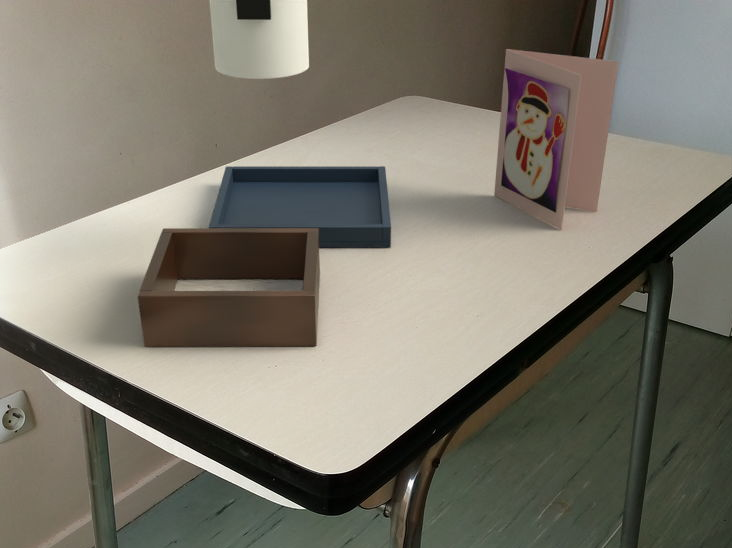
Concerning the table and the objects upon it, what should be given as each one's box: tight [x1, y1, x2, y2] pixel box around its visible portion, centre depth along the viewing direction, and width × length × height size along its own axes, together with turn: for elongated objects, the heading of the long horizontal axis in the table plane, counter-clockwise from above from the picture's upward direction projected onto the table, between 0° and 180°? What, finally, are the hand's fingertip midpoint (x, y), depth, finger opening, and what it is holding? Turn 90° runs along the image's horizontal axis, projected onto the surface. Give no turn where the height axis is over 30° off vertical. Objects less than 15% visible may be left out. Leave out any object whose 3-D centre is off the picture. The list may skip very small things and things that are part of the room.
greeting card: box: [493, 48, 620, 231], centre depth 103 cm, size 11×7×15 cm, turn 31°
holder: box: [136, 227, 321, 348], centre depth 86 cm, size 14×14×4 cm
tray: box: [208, 165, 392, 249], centre depth 105 cm, size 18×18×2 cm
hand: (258, 7), depth 85 cm, fingers closed on cup, 8 cm apart
